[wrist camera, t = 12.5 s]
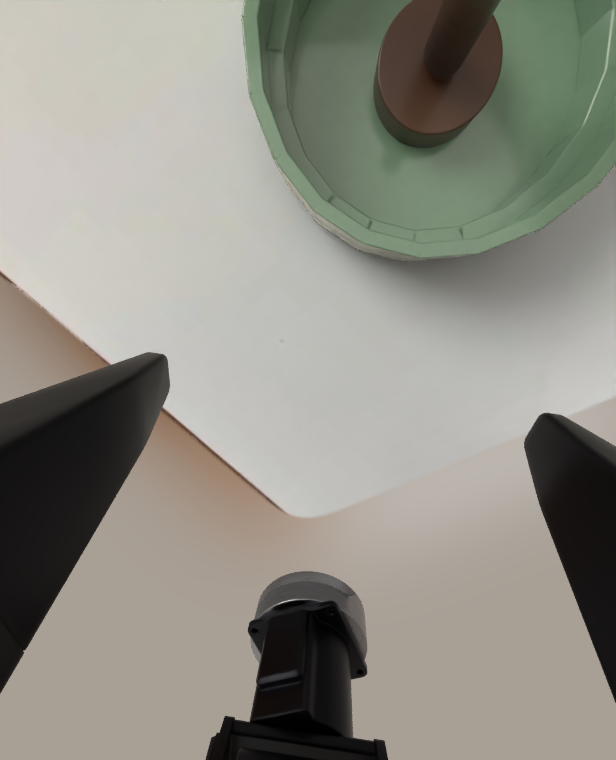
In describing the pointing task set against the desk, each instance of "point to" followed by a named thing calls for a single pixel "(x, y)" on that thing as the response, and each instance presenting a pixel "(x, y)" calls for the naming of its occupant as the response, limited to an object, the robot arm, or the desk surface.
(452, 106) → the knob-topped peg stand
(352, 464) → the desk surface
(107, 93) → the desk surface
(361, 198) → the bowl
